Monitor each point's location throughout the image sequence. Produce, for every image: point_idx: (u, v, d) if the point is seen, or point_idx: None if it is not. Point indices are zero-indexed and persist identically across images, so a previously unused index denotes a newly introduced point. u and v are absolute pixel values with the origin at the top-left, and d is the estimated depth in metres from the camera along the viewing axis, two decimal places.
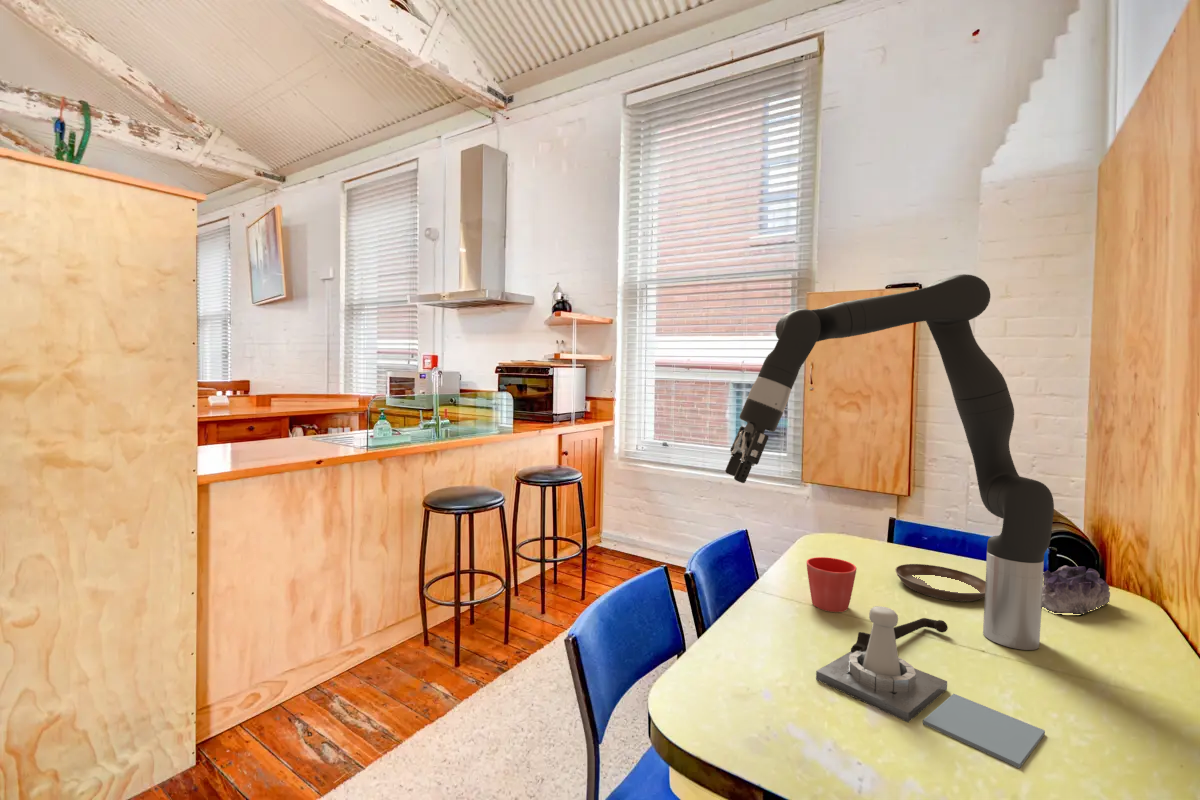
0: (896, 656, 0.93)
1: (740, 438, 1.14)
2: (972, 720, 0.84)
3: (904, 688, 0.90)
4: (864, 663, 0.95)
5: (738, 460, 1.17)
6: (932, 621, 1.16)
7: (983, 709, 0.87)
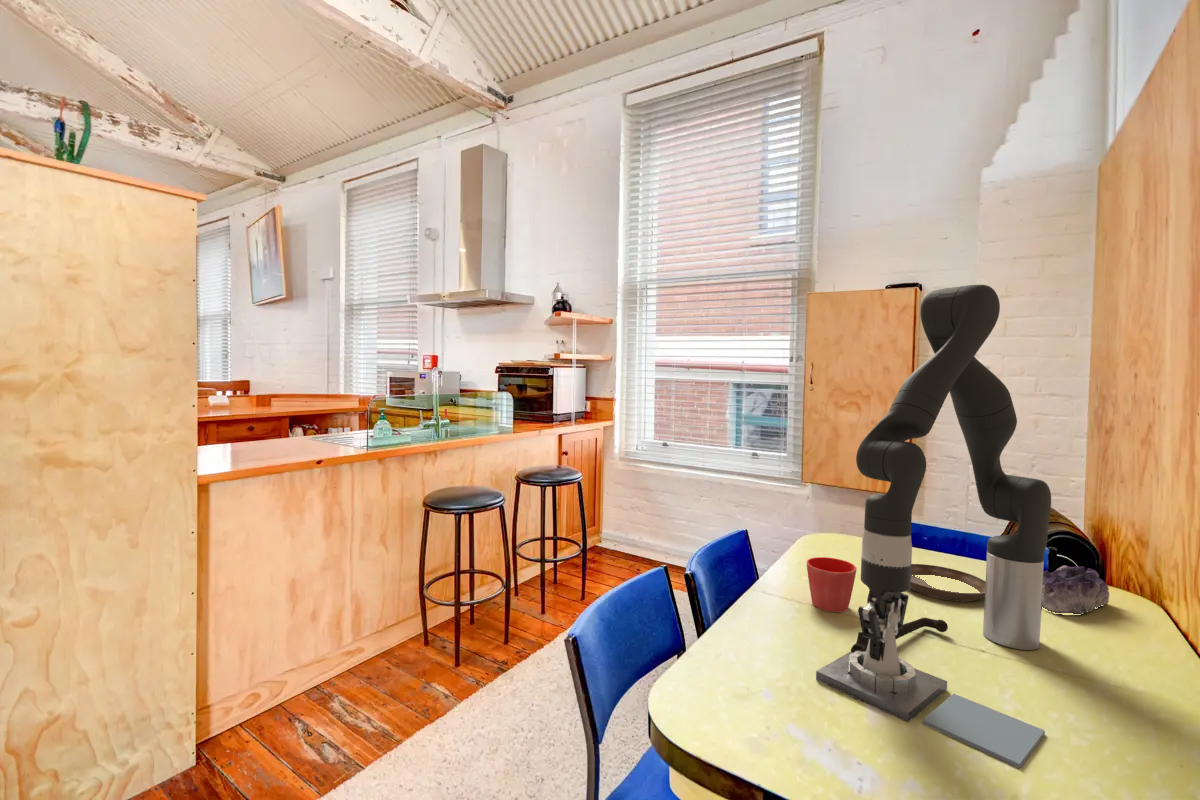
0: (896, 655, 0.93)
1: None
2: (972, 720, 0.84)
3: (904, 688, 0.90)
4: (864, 663, 0.95)
5: None
6: (932, 621, 1.16)
7: (983, 709, 0.87)
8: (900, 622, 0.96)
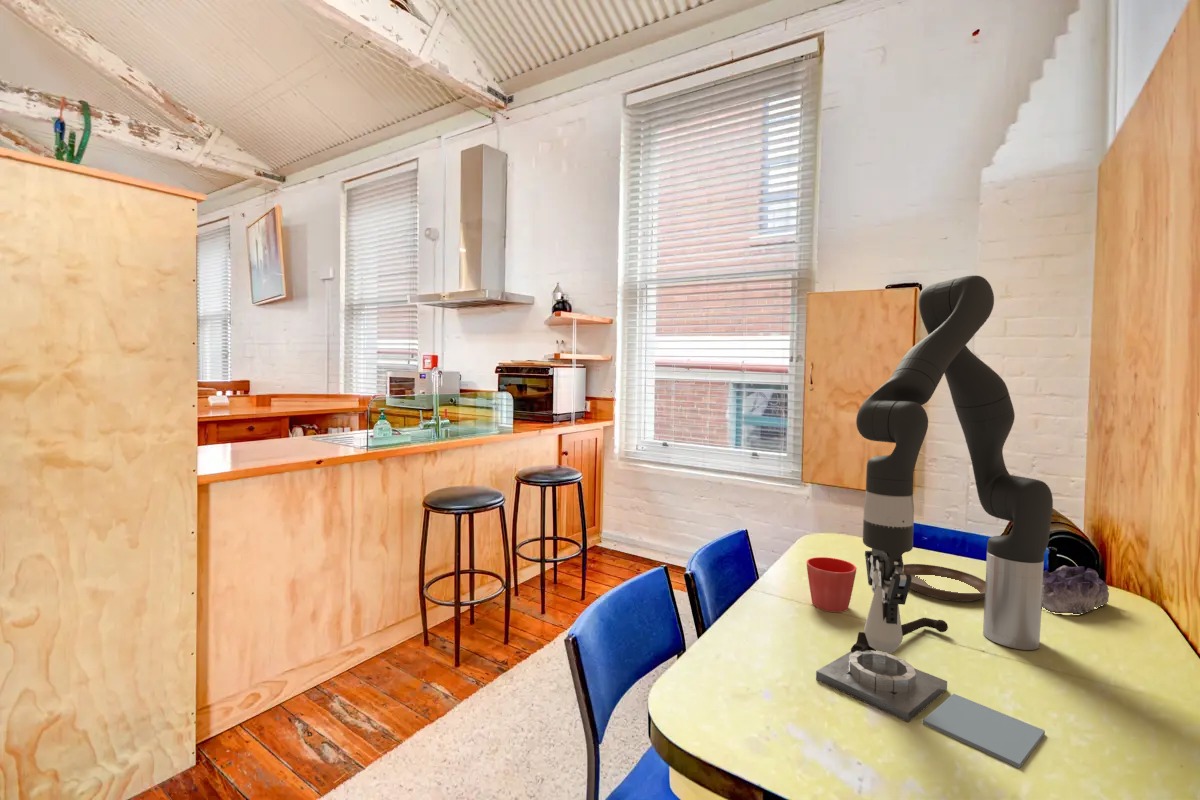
0: None
1: (874, 565, 0.95)
2: (972, 720, 0.84)
3: (904, 688, 0.90)
4: (874, 631, 0.93)
5: None
6: (932, 621, 1.16)
7: (983, 709, 0.87)
8: None
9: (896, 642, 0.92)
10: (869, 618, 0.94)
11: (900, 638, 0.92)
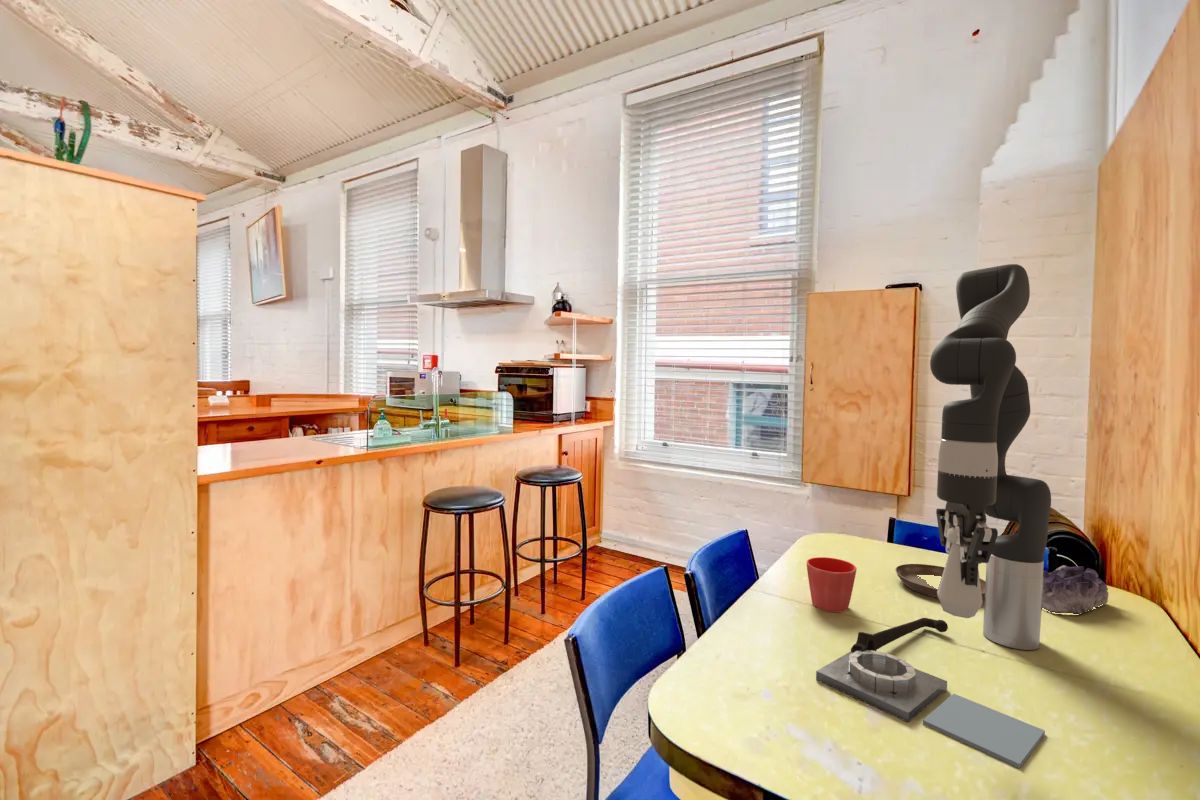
0: None
1: (950, 522, 0.86)
2: (972, 720, 0.84)
3: (904, 688, 0.90)
4: (950, 593, 0.84)
5: None
6: (932, 621, 1.16)
7: (983, 709, 0.87)
8: None
9: (976, 606, 0.82)
10: (944, 580, 0.85)
11: (980, 601, 0.83)
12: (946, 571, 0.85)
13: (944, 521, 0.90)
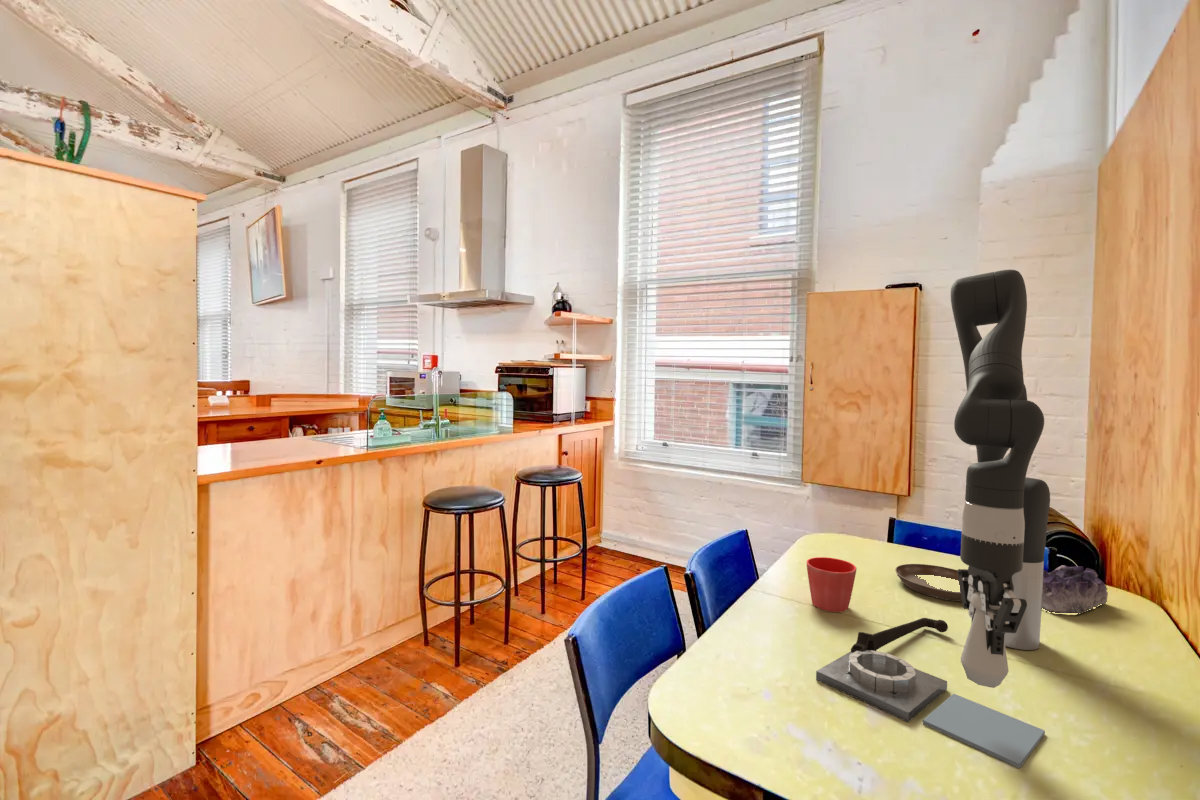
0: None
1: (974, 587, 0.83)
2: (972, 720, 0.84)
3: (904, 688, 0.90)
4: (975, 662, 0.81)
5: None
6: (932, 621, 1.15)
7: (983, 709, 0.87)
8: None
9: (1002, 676, 0.80)
10: (968, 647, 0.83)
11: (1006, 671, 0.80)
12: (971, 638, 0.83)
13: (966, 583, 0.87)
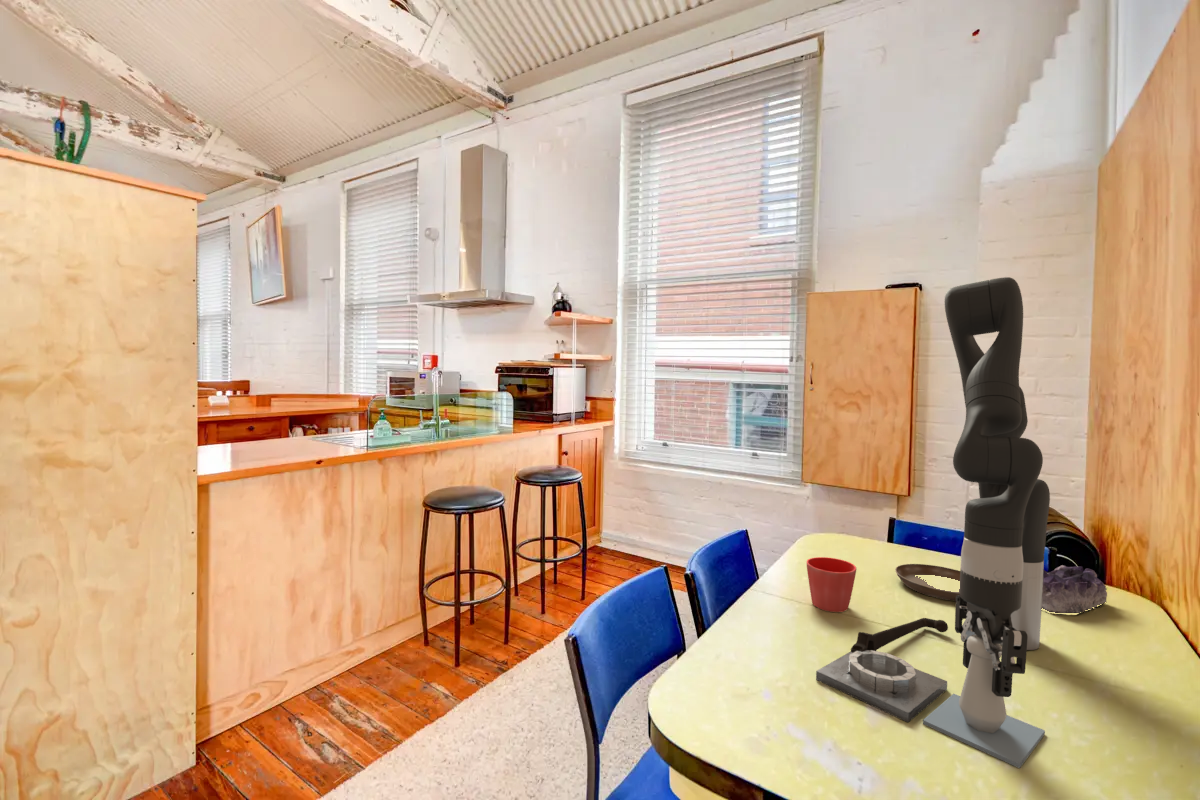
0: None
1: (972, 622, 0.84)
2: None
3: (904, 688, 0.90)
4: (973, 707, 0.81)
5: None
6: (932, 621, 1.15)
7: None
8: None
9: (1000, 721, 0.80)
10: (966, 692, 0.83)
11: (1004, 716, 0.81)
12: (968, 683, 0.83)
13: (963, 610, 0.88)
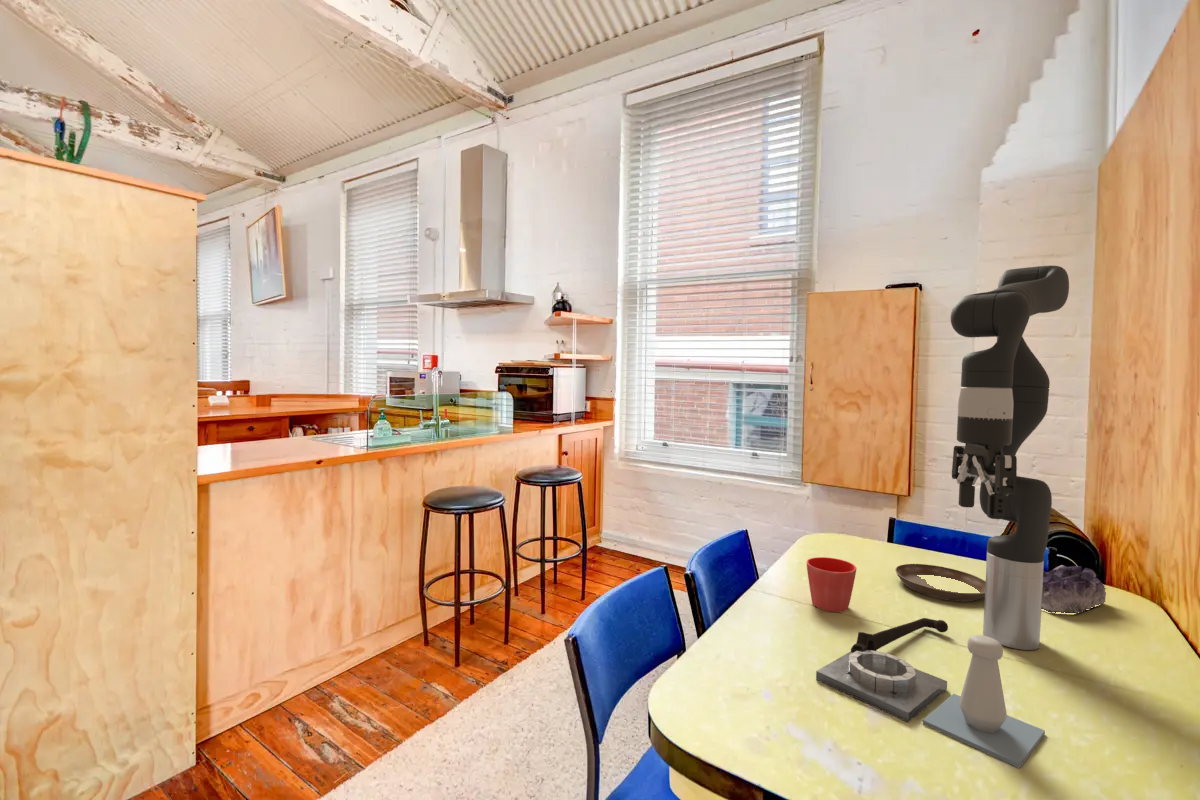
0: None
1: (967, 463, 0.94)
2: None
3: (904, 688, 0.90)
4: (973, 708, 0.81)
5: (971, 487, 0.96)
6: (932, 621, 1.15)
7: None
8: None
9: (1000, 722, 0.80)
10: (966, 692, 0.83)
11: (1004, 716, 0.81)
12: (968, 683, 0.83)
13: (959, 458, 0.98)
